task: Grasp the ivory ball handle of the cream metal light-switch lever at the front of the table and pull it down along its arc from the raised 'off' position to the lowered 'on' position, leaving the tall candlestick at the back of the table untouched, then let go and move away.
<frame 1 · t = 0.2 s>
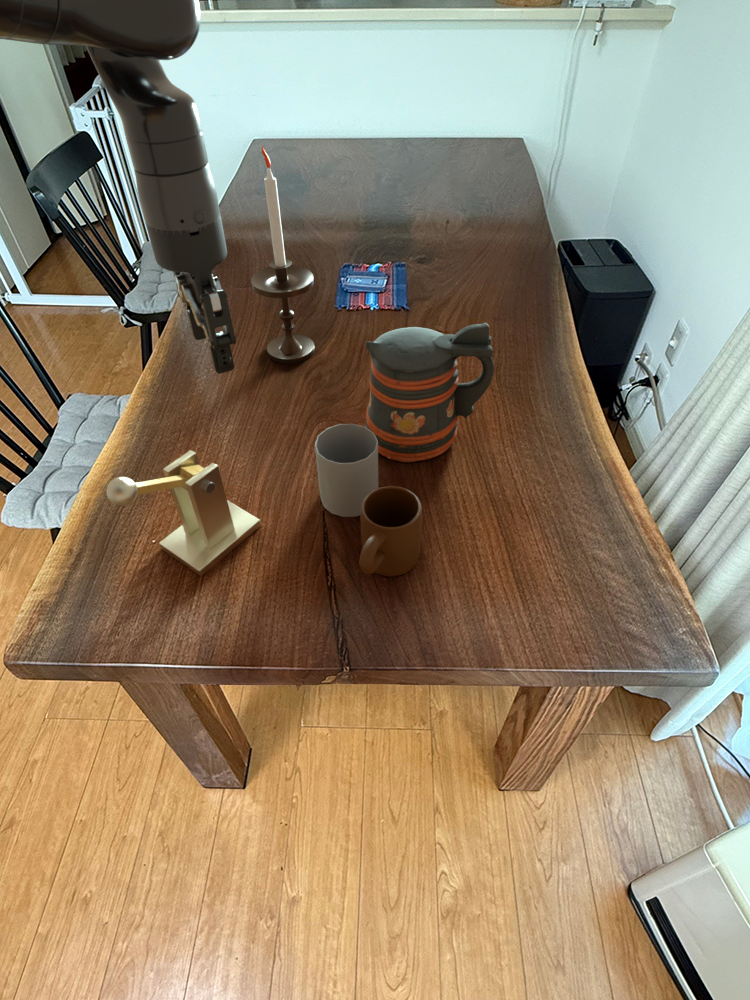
hand: (213, 353, 72), 23 cm above the table, tool pointing down, fingers open, 8 cm apart
cup: (349, 497, 87), on the table
candlestick: (291, 351, 115), on the table
switch lever: (159, 484, 69), point 13 cm above the table, hinge at 28.0°
beer stein: (423, 434, 97), on the table
switch bracket: (211, 537, 81), on the table
mug: (384, 568, 78), on the table
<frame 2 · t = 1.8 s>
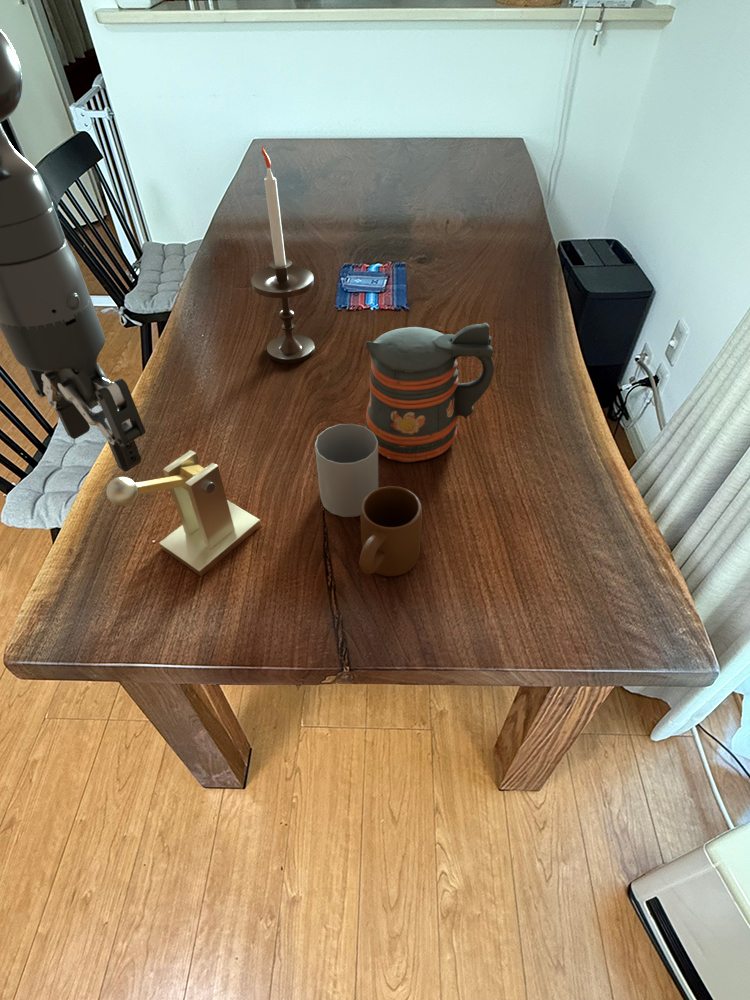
hand: (105, 449, 61), 22 cm above the table, tool pointing down, fingers open, 8 cm apart
nothing on the table moved.
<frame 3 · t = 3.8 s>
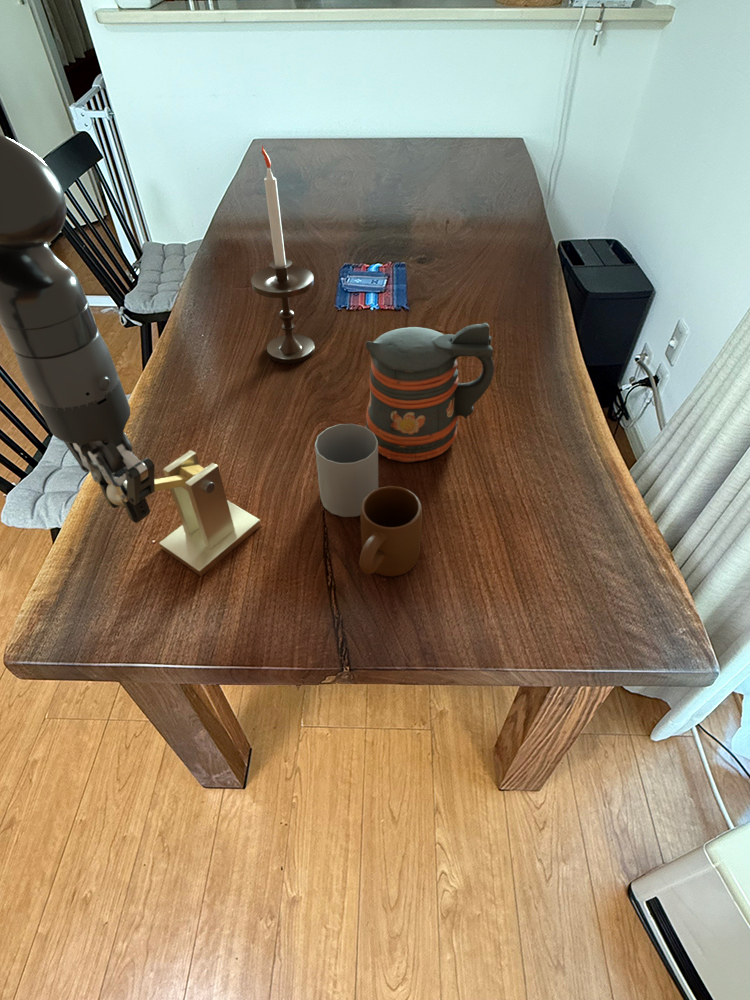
hand: (130, 509, 67), 13 cm above the table, tool pointing down, fingers closed on switch lever, 3 cm apart
switch lever: (159, 484, 69), point 13 cm above the table, hinge at 28.0°, touching gripper
everything else where it was.
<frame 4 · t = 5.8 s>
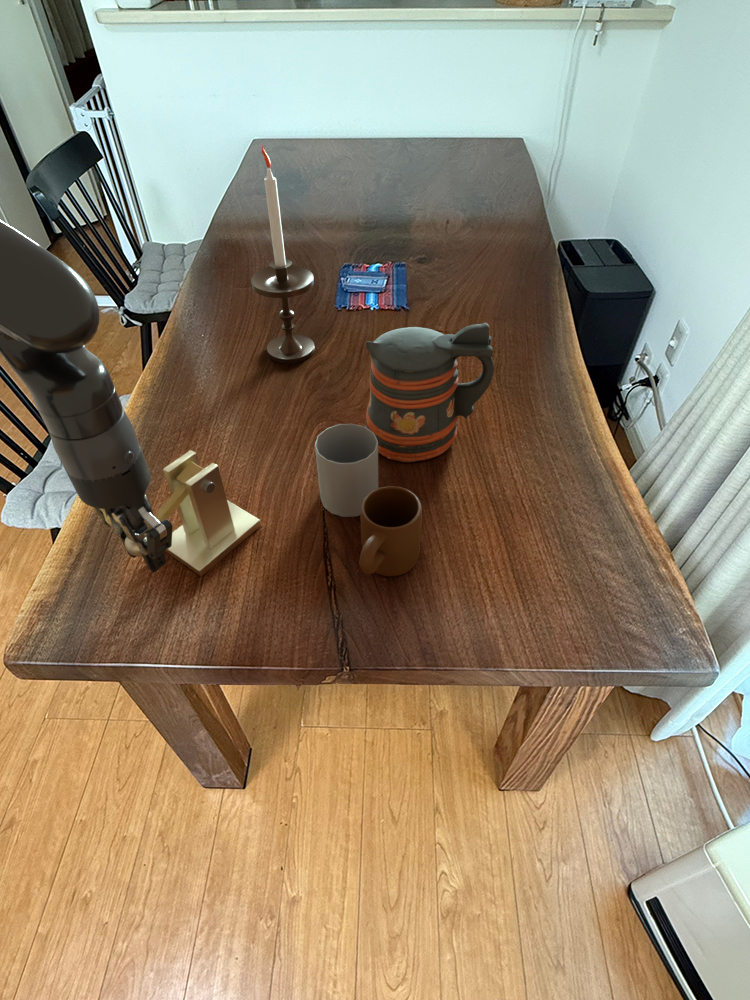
hand: (148, 559, 73), 4 cm above the table, tool pointing down, fingers closed on switch lever, 3 cm apart
switch lever: (166, 510, 72), point 9 cm above the table, hinge at -19.6°, touching gripper
everything else where it was.
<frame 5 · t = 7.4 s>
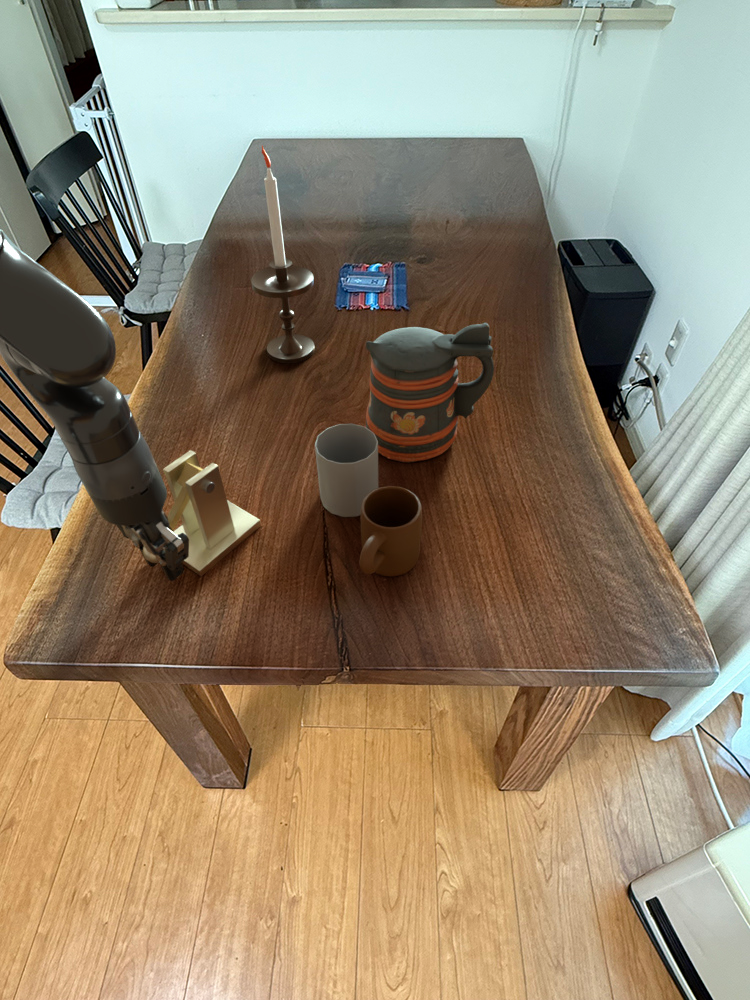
hand: (166, 568, 76), 1 cm above the table, tool pointing down, fingers open, 3 cm apart
switch lever: (174, 514, 74), point 8 cm above the table, hinge at -38.5°
everything else where it was.
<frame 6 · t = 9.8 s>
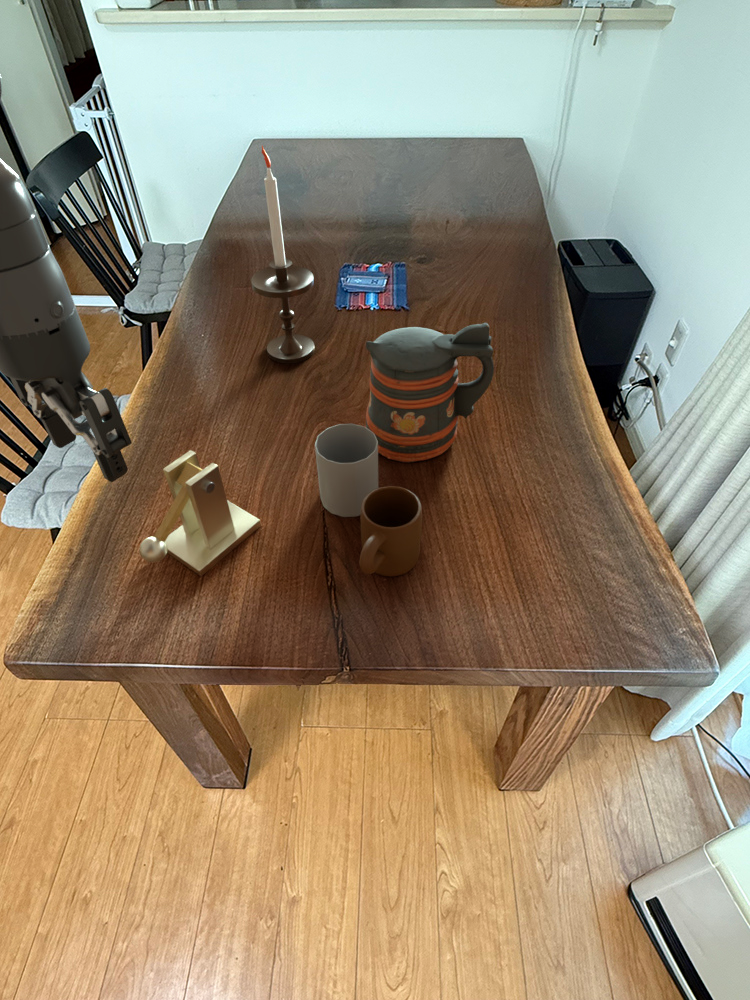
hand: (91, 459, 60), 22 cm above the table, tool pointing down, fingers open, 8 cm apart
switch lever: (173, 514, 73), point 8 cm above the table, hinge at -35.5°
everything else where it was.
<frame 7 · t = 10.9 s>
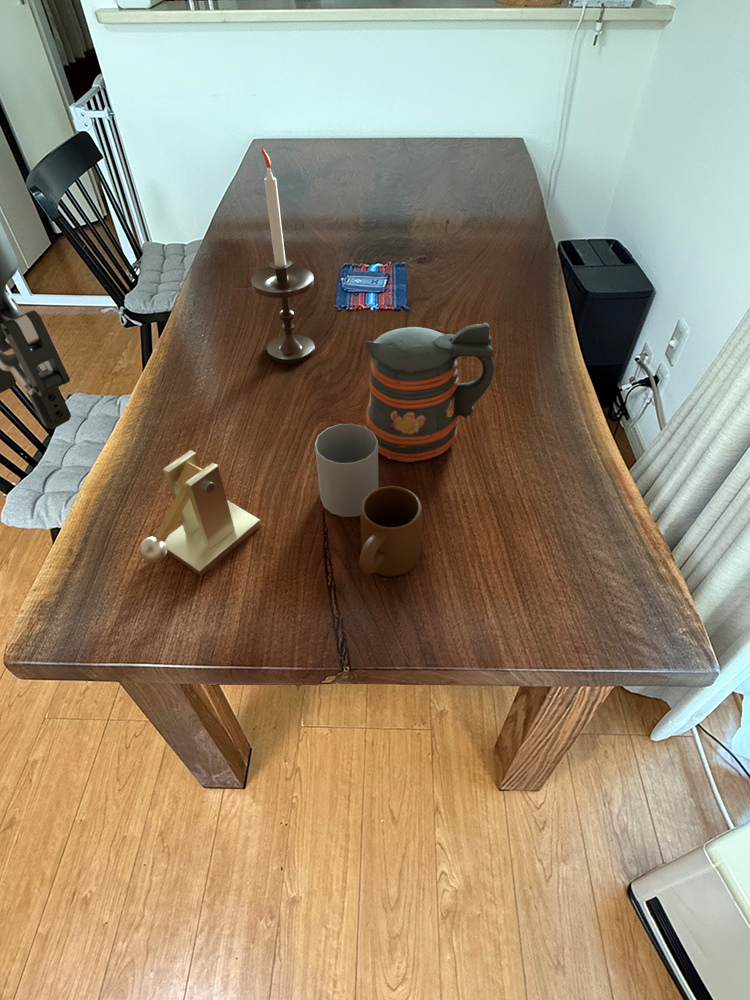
hand: (30, 405, 52), 30 cm above the table, tool pointing down, fingers open, 8 cm apart
nothing on the table moved.
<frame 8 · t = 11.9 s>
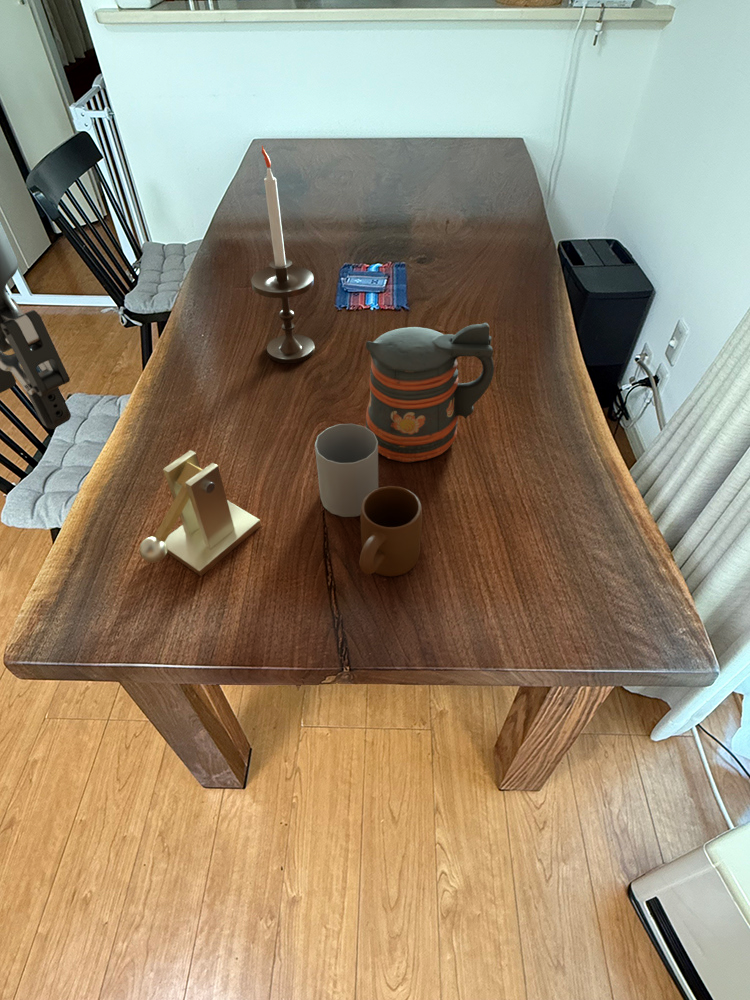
hand: (30, 405, 52), 30 cm above the table, tool pointing down, fingers open, 8 cm apart
nothing on the table moved.
at the end: switch lever at -36° (first picture: +28°); the gripper is holding nothing; candlestick moved 0.2 cm from its start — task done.
